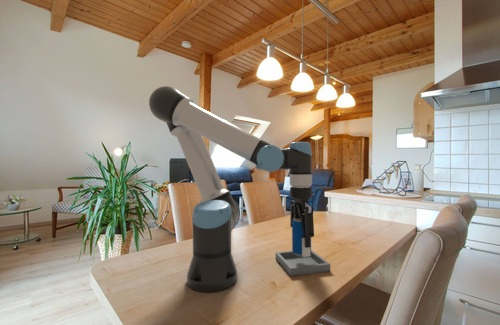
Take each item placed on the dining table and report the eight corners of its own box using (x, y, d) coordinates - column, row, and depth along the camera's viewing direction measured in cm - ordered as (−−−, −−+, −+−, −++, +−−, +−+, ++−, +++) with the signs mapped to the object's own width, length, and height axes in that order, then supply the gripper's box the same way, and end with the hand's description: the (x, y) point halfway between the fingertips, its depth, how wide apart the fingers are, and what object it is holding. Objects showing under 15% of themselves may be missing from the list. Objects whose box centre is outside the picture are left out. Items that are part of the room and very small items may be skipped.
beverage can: (311, 257, 80) (311, 221, 80) (292, 256, 81) (291, 221, 81) (310, 250, 86) (310, 217, 86) (292, 249, 87) (292, 216, 87)
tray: (290, 276, 75) (290, 268, 75) (275, 259, 89) (275, 252, 89) (330, 271, 78) (330, 263, 78) (310, 255, 92) (310, 248, 92)
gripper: (325, 188, 75) (326, 262, 75) (298, 183, 94) (299, 242, 94) (303, 189, 73) (304, 265, 73) (280, 184, 92) (281, 244, 92)
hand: (301, 252), depth 84 cm, fingers closed on beverage can, 6 cm apart
